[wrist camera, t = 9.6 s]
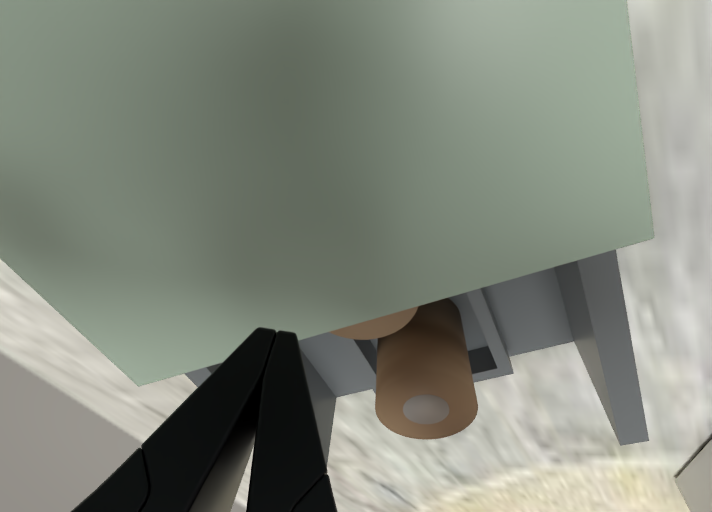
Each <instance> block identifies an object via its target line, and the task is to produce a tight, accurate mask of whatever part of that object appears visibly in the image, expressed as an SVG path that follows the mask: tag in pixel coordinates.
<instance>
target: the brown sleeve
mask: <svg viewBox="0 0 712 512" xmlns="http://www.w3.org/2000/svg"><path fill="white" fill-rule="evenodd" d="M375 410H376V414H377V417H378V418H379V420H380V421H381V423H382V424H383V425H384V426H386V427H387V428H388V429H390V430H391V431H393V432H395V433H397V434H399V435H402V436H405V437H410V438H415V439H438V438H444V437H447V436H451V435H454V434H456V433H458V432H460V431H462V430H463V429H465V428H466V427H468V426H469V425H470V424H471V423H472V422H473V420H474V419H475V417H476V415H477V411H478V404H477V398H476V393H475V388H474V383H473V377H472V372H471V367H470V362H469V357H468V351H467V346H466V341H465V336H464V330H463V325H462V320H461V315H460V312H459V309H458V308H457V306H456V305H455V304H454V302H453V301H451V300H450V299H449V298H445V299H441V300H438V301H434V302H431V303H427V304H424V305H420V306H418V309H417V311H416V313H415V315H414V316H413V318H412V319H411V320H410V321H409V322H408V323H407V324H406V325H405V326H404V327H403V328H401V329H400V330H398V331H396V332H395V333H392V334H390V335H387V336H384V337H381V338H378V343H377V373H376V402H375Z"/></svg>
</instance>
